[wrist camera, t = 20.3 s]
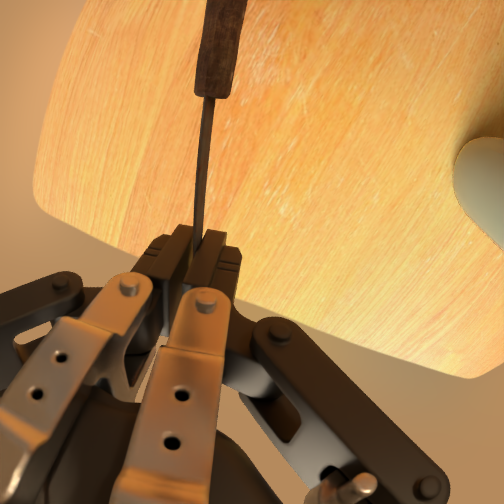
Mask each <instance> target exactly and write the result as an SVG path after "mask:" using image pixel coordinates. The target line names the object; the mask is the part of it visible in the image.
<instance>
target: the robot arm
mask: <svg viewBox="0 0 504 504" xmlns="http://www.w3.org/2000/svg"><path fill="white" fill-rule="evenodd" d="M226 238H227V232H222V231H216V230H211V229H207V231H206V233H205V235H204V237H203V239H202V241H201V243H200V246H199V248H198V250H197V252H196V254H195V256H194V258H193V226H188V225H182V224H179V225H178V226H177V227H176V229H175V230H174V232H173V233H172V235H165V234H163V235H161V236H159V237H157V238H156V239H154V240H153V241H152V242H151V244H150V245H149V246H148V248H147V249H146V251H145V252H144V254H143V255H142V256H141V257H140V259H139V260H138V262H137V263H136V264H135V266H134V267H133V268H132V270H131V271H130V272H126V273H121V274H118V275H116V276H114V277H113V278H111V279H110V280H109V281H108V283H107V284H106V285H105V286H104V287H96V288H95V287H83V282H82V279H81V277H80V276H79V275H77V274H76V273H73V272H69V271H63V272H57V273H55V274H52V275H49V276H46V277H43V278H41V279H38V280H35V281H33V282H30V283H27V284H25V285H22V286H19V287H17V288H14V289H12V290H9V291H6V292H4V293H2V294H0V504H283V503H282V502H281V501H280V499H279V498H278V497H277V496H276V494H275V493H274V491H273V490H272V489H271V487H270V486H269V485H268V483H267V482H266V481H265V479H264V478H263V477H262V475H261V474H260V473H259V471H258V470H257V468H256V467H255V465H254V464H253V463H252V461H251V460H250V458H249V457H248V456H247V454H246V453H245V452H244V451H243V450H242V449H241V448H240V446H239V445H238V444H236V443H235V442H234V441H233V440H232V439H231V438H229V437H228V436H226V435H225V434H224V433H222V432H220V431H219V430H217V429H216V426H217V418H218V410H219V402H220V393H221V385H222V384H224V385H226V386H229V387H230V388H232V389H234V390H237V391H238V392H239V396H240V399H241V400H242V402H243V403H244V405H245V406H246V407H247V409H248V410H249V411H250V413H251V414H252V416H253V417H254V419H255V420H256V421H257V423H258V424H259V425H260V427H261V428H262V429H263V431H264V432H265V433H266V435H267V436H268V437H269V439H270V440H271V441H272V443H273V444H274V445H275V447H276V448H277V449H278V451H279V452H280V453H281V454H282V456H283V457H284V458H285V459H286V461H287V462H288V463H289V465H290V466H291V467H292V468H293V469H294V471H295V472H296V473H297V474H298V476H299V477H300V478H301V479H302V480H303V481H304V483H305V484H306V485H307V486H308V488H309V489H310V491H309V493H308V494H307V495H306V498H305V501H304V504H446V503H447V502H448V499H449V496H450V483H449V479H448V477H447V475H446V474H445V472H444V471H443V470H442V469H441V468H440V467H439V466H438V465H437V464H436V463H434V461H433V460H431V459H430V458H429V457H428V456H427V455H426V454H425V453H424V452H423V451H422V450H421V449H420V448H419V447H418V446H417V445H416V444H415V443H414V442H413V441H412V440H411V439H410V438H409V437H408V436H407V435H406V434H405V433H404V432H403V431H402V430H401V429H400V428H399V427H398V426H397V425H396V424H395V423H394V422H393V421H392V420H391V419H390V418H389V417H388V416H387V415H386V414H385V413H384V412H382V410H381V409H380V408H379V407H378V406H377V405H376V404H375V403H374V402H373V401H372V400H371V399H370V398H369V397H368V396H367V395H366V394H365V393H364V392H363V391H362V390H361V389H360V388H359V387H358V386H357V385H356V384H355V383H354V382H353V381H352V380H351V379H350V378H349V377H348V376H347V375H346V374H345V373H344V372H343V371H342V370H341V369H340V368H339V367H338V366H337V365H336V364H335V363H334V362H333V361H332V360H331V359H330V358H329V357H328V356H327V355H326V354H325V353H324V352H323V351H322V350H321V349H320V347H319V346H318V345H317V344H315V342H314V341H313V340H312V339H311V338H310V337H309V336H308V335H307V334H306V333H305V332H304V331H303V330H302V329H301V328H300V327H299V326H298V325H297V324H295V323H294V322H292V321H290V320H288V319H285V318H282V317H267V318H263V319H261V320H259V321H258V322H257V323H256V322H254V321H251V320H249V319H247V318H245V317H244V316H242V315H241V314H240V313H239V312H238V311H237V310H236V308H235V307H234V304H233V303H234V299H235V294H236V289H237V283H238V277H239V271H240V266H241V260H242V255H241V253H240V251H239V249H238V248H237V247H232V246H226ZM48 321H50V322H51V325H52V329H51V330H50V331H49V333H48V334H47V335H45V336H43V337H40V338H38V339H36V340H33V341H31V342H29V343H26V344H23V345H19V344H17V343H16V342H15V341H14V338H15V336H16V335H18V334H20V333H22V332H24V331H27V330H29V329H32V328H34V327H36V326H39V325H41V324H43V323H46V322H48ZM160 335H161V336H165V337H169V338H168V341H167V344H166V346H165V345H161V346H160V348H159V350H158V352H157V355H156V358H155V361H154V364H153V367H152V370H151V373H150V377H149V380H148V383H147V386H146V389H145V393H144V396H143V399H142V402H141V403H134V402H135V397H136V394H137V392H138V390H139V388H140V385H141V383H142V381H143V379H144V377H145V374H146V372H147V370H148V368H149V366H150V364H151V362H152V359H153V357H154V356H155V353H156V343H157V340H158V338H159V336H160Z"/></svg>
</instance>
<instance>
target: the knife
mask: <svg viewBox="0 0 504 504" xmlns="http://www.w3.org/2000/svg"><path fill="white" fill-rule="evenodd" d="M247 1H248V0H207V4H206V11H205V18H204V26H203V33H202V39H201V44H200V48H199V54H198V61H197V68H196V76H195V87H194V93H195V95H196V96H199V97H204V102H203V110H202V119H201V128H200V137H199V147H198V158H197V170H196V183H195V199H194V221H193V258H194V256H195V254H196V252H197V250H198V248H199V246H200V243H201V241H202V233H203V219H204V206H205V193H206V182H207V171H208V161H209V151H210V142H211V132H212V124H213V115H214V107H215V100H216V98H218V99H226V98H228V97H229V95H230V92H231V87H232V81H233V76H234V71H235V66H236V60H237V54H238V46H239V39H240V34H241V29H242V24H243V20H244V15H245V11H246V6H247Z"/></svg>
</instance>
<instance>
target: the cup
mask: <svg viewBox="0 0 504 504" xmlns="http://www.w3.org/2000/svg"><path fill="white" fill-rule="evenodd" d="M453 188H454V193H455V196H456V198H457V200H458V203H459V205H460V206H461V208H462V209H463V211H464V212H465V213H466V215H467V216H468V217H469V218H470V220H471V221H472V222H473V223H474V224H475V225H476V226H477V227H478V228H479V229H480V230H481V231H482V232H483V233H484V234H485V235H486V236H487V237H488V238H489V239H490V240H491V241H492V242H493V243H494V244H495V245H497V246H498V247H499V248H500V249H501V250H502V251H503V252H504V139H503V138H497V137H479V138H476V139H473V140H471V141H469V142H468V143H466V144H465V145H464V146H463V147H462V149H461V150H460V151H459V153H458V155H457V158H456V161H455V164H454V169H453Z"/></svg>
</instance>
